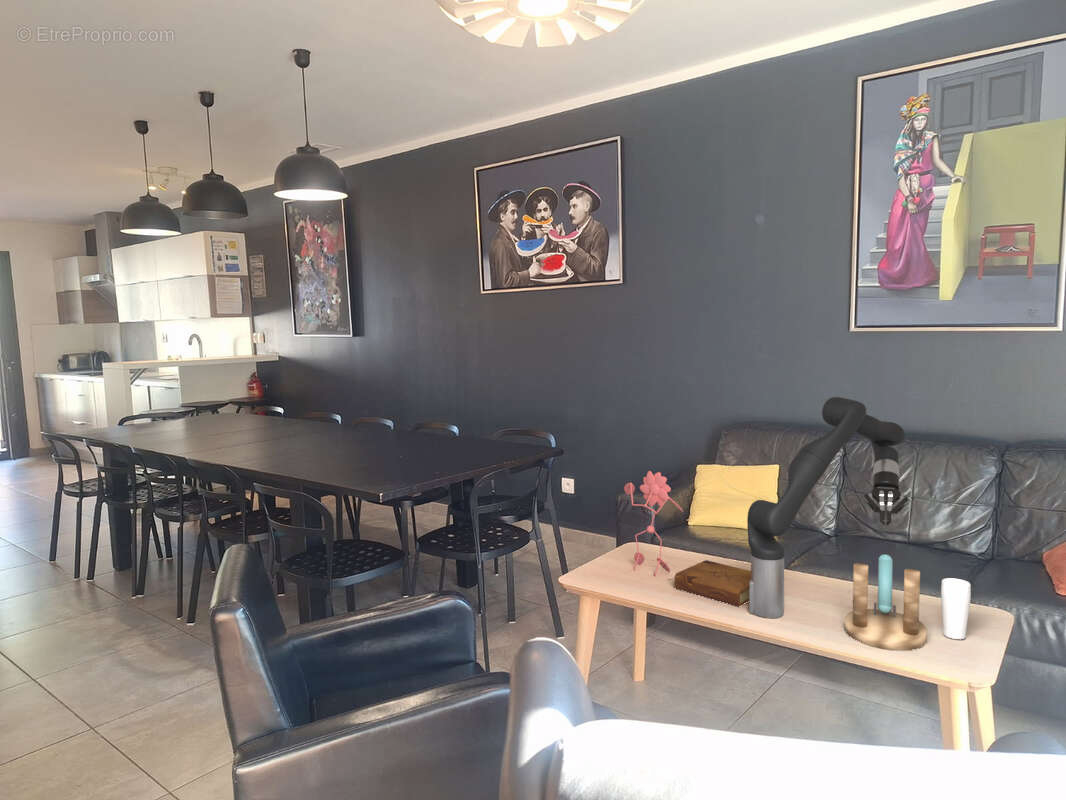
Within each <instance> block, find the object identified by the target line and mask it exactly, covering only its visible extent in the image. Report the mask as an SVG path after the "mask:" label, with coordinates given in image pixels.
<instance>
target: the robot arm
mask: <svg viewBox="0 0 1066 800" xmlns="http://www.w3.org/2000/svg"><path fill="white" fill-rule="evenodd" d="M821 416H822V418H823V419H822V420H823V421H824V422H825V423H826V424H828V425H830V426H833V427H834V428H833V429H832V430H830V432H828V433H826V434H824V435H823V436H822V435H821V437H818V438H816V439H813V440H812V441H810V442H809V443H807V444H805V445H804V446H802V447H801V448H800V450H798V452H797V453H796V455H795V456H794V458H793V459H792V460H791V462H790V464H789V466H788V471H787V488H786V489H785V492H784V493H783V495H782V496H781V497H780V499H779V500H778V501H777V502H772V501H768V500H765V499H758V500H755V501H753V502H752V503H751V504H750V507H749V508H748V510H747V511H748V512H747V520H746V521H747V522H746V523H747V538H748V539H747V541H748V542H747V543H748V545H749V548H750V571H751V580H750V597H749V602H748V603H749V607H748V608H749V614H752V615H755V616H757V615H758V616H757V617H760V616H761V617H760V618H765V617H766V618H765V619H777V618H780V617H782V616H784V610H785V606H784V605H785V601H784V600H785V597H784V596H785V547H783V545H782V543H780V542H779V541H778V540H777V539H776V538H775V537H780V536H782V535H784V534H785V533H786V532H787V531H788V530H789V528H791V527H790V526H791V525H792V524H793V522H794V520H795V518H796V516H797V514H798V513H799V511H800V509H801V507H802V506H803V504H804V503H805V500H806V499H807V497H808V496H809V494H810V493H811V491H812V489H813V488H814V486H815V485H816V484H817V483H818V482H819V481H820V479H821V478H822V476H823V475H824V474H825V472H826V471H827V469H828V468H829V466H830V465H831V463H832V462H833V460H834V459H835V457H836V456H837V455H838V453H839V452H840V451H841V449H842V448H843V447H844V445H845V444H846V443H847V442H848V441H849V440H850V439H851V438H852V436H853V435H854V434H855V433H856V434H858V435H860V436H862V437H863V438H866V439H869V441H870V443H871V447H872V450H873V453H874V462H873V463H874V464H873V465H874V466H873V473H872V476H873V477H872V489H871V491H870V493H868V494H867V493H865V494H864V495H863V497H864V498H863V500H864V502H865V503H866V504H867V505H868V506H869V507H870V509H871V510H872V511H873V512H874V513H878V514H879V522H880V523H881V524H882V525H883V526H884V525H886V526H889V525H890V524H892V515H893V514H895V515H897V514H899V513H900V512H901V511H902V510H903V509H904V508H905V507H906V506H907V505H908V504H909V497H907V496H903V495H902V492H901V491H900V467H899V452H898V450H897V449H896V448H894V447H893V446H898V445H900V444H902V443H903V442H904V440H905V438H906V434H905V430H904V429H903V427H902V426H901V425H899V424H898V423H895V422H892V421H885V420H884V421H883V420H880V419H878V418H877V417H874V416H873V415H869V414H867V407H866V406H865V404H864V403H863V402H860V401H857V400H854V399H849V398H846V397H845V398H844V397H841V396H833V397H830V398H828V399H827V400H826V401H825V403H824V405H823V407H822V412H821ZM873 499H874V500H873ZM897 502H898V503H897ZM896 503H897V504H896ZM878 504H879V506H878ZM894 504H896V505H895V506H894V507H893V505H894ZM885 506H887V509H886V511H885Z"/></svg>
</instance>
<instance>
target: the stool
mask: <svg viewBox="0 0 1066 800" xmlns="http://www.w3.org/2000/svg"><path fill="white" fill-rule="evenodd" d="M903 574H904V577H903V579H904V580H903V611H902V612H903V613H900V612H896V611H897V610H896V609H897V607H896V605H895V604H892V610H891V612H889V613H887V614H885V613H882V612H880V611H879V609H878V608H877V606H878V602H873V605H874V606H873V609H872V608H868V607H869V605H868V601H869V600H868V599H869V565H868V564H865V563H863V562H856V563H853V575H852V577H853V578H852V585H853V587H852V588H853V589H852V611H849V612H847V613H846V614H845V616H844V624H843V625H844V626H843V628H844V629H845V630H844V632H845V631H846V632H845V633H847V634H848V635H849V636H848V635H847V634H846V635H847V636H848V637H850V636H851V637H852V638H853V640H854V639H855V640H854V641H856V640H857V641H856V642H858V641H859V642H858V643H860V642H861V643H860V644H863V643H864V644H863V645H865V644H866V646H868V645H869V647H872V648H875V647H876V649H881V650H885V649H886V651H894V650H901V651H900V652H903V651H902V650H909V651H913V650H912V649H916V650H918V649H917V648H919V649H921V648H920V647H922V646H924V645H925V644H926V645H927V643H928V629H927V628H928V627H927V626H926V625H925V624H924V623H923V622H921V621H920V595H921V594H920V592H921V590H920V589H921V571H920V570H918V569H914V568H905V569H904V573H903ZM851 637H850V638H851ZM852 638H851V639H852ZM926 642H927V643H926ZM926 645H925V646H926ZM925 646H924V647H925ZM922 648H923V647H922Z"/></svg>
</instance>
